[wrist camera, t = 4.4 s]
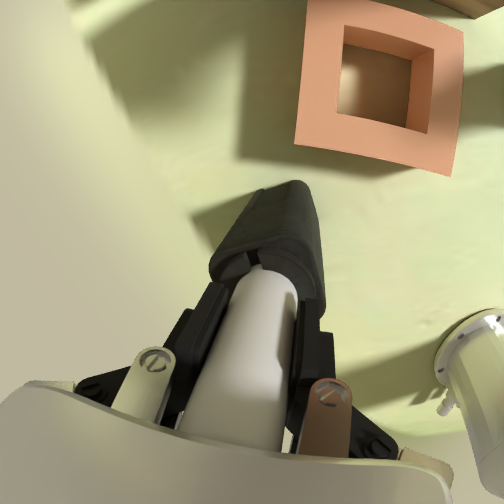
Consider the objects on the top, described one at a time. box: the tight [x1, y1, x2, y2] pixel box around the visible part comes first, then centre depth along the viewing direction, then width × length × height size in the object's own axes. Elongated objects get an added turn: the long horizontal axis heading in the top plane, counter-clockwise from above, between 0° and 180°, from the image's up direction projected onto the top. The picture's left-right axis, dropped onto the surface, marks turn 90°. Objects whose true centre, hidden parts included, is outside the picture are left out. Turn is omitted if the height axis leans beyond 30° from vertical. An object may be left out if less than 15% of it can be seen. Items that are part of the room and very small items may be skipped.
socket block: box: [294, 0, 464, 177], centre depth 18 cm, size 12×12×5 cm
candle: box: [176, 180, 326, 452], centre depth 15 cm, size 5×5×25 cm
